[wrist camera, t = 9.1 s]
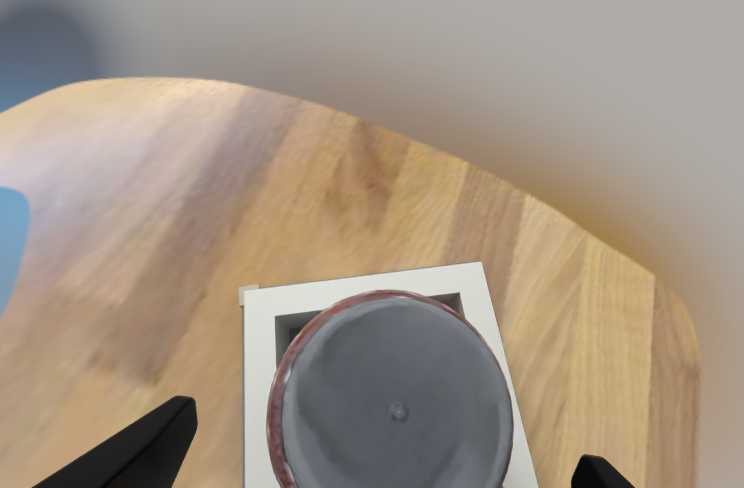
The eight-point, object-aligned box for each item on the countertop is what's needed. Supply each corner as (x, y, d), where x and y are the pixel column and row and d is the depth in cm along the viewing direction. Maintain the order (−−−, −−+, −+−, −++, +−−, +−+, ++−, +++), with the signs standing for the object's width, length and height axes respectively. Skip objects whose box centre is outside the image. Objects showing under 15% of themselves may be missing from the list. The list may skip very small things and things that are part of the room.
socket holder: (543, 539, 16) (593, 580, 12) (249, 588, 15) (212, 645, 12) (475, 265, 20) (498, 237, 17) (247, 294, 20) (220, 271, 16)
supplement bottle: (466, 371, 17) (615, 324, 7) (418, 513, 15) (529, 751, 5) (348, 317, 18) (323, 204, 8) (287, 445, 16) (144, 521, 6)
